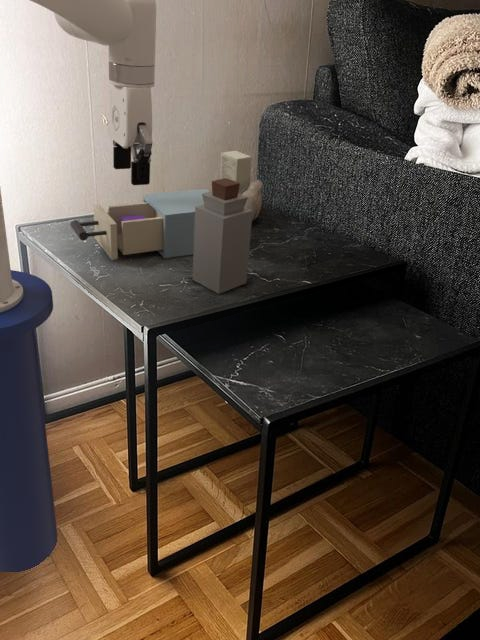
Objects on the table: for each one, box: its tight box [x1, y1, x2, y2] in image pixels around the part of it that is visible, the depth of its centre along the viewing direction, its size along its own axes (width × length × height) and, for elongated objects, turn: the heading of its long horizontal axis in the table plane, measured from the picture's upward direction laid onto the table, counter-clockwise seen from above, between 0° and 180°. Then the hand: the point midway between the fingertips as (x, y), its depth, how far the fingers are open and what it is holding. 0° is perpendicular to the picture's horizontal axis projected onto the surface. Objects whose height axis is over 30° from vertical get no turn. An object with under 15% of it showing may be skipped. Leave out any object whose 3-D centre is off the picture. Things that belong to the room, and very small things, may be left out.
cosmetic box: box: [219, 150, 252, 194], centre depth 139 cm, size 6×4×12 cm
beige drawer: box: [70, 201, 164, 261], centre depth 114 cm, size 18×10×7 cm, turn 118°
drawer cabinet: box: [142, 188, 211, 259], centre depth 120 cm, size 14×12×9 cm
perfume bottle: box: [192, 178, 253, 295], centre depth 104 cm, size 7×7×18 cm
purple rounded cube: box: [122, 215, 145, 221], centre depth 115 cm, size 4×4×4 cm
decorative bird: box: [240, 179, 266, 222], centre depth 132 cm, size 5×16×8 cm, turn 163°
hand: (131, 176), depth 110 cm, fingers open, 9 cm apart
